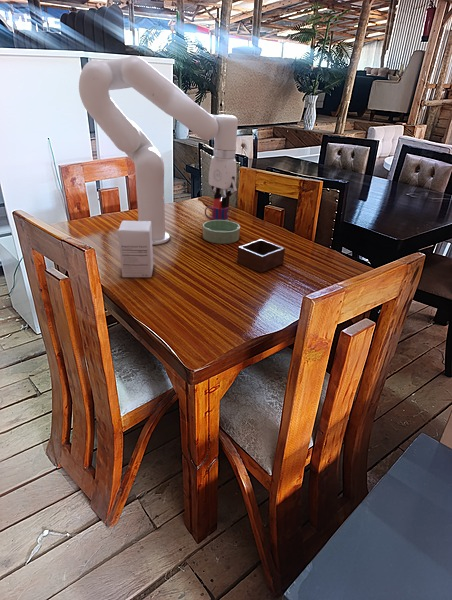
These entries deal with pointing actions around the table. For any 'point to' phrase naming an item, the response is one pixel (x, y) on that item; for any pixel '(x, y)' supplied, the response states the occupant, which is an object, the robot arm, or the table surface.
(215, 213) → the mug
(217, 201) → the red small block
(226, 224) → the bowl
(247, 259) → the box
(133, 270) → the white product box
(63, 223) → the table surface
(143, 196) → the robot arm
